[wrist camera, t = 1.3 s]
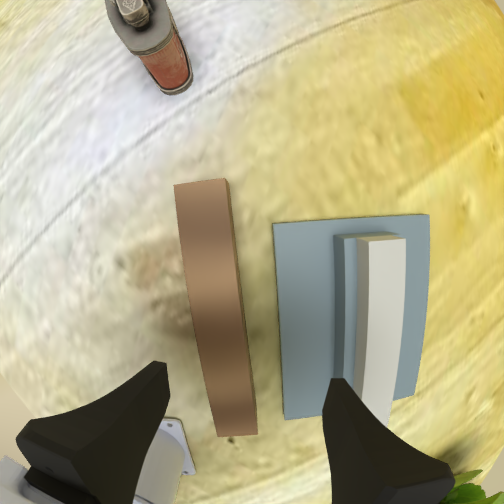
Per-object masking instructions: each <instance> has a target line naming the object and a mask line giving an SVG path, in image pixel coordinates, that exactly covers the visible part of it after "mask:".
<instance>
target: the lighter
mask: <svg viewBox="0 0 504 504" xmlns="http://www.w3.org/2000/svg"><path fill="white" fill-rule="evenodd" d="M105 4H106V9H107V14H108V18H109V20H110V22H111V24H112V26H113V28H114V30H115V32H116V33H117V35H118V36H119V37H120V39H121V40H122V42H123V43H124V44H125V46H126V47H127V48H128V49H129V51H130V52H131V53H133V54H134V55H137V56H139V58H140V59H141V60H142V62H143V64H144V66H145V68H146V70H147V72H148V74H149V75H150V76H151V78H152V79H153V80H154V82H155V83H156V85H157V86H158V87H159V89H160V90H161V91H162V92H163V93H164V94H167V95H177V94H180V93H182V92H184V91H186V90H187V89H188V88H189V87H190V86H191V84H192V82H193V73H192V68H191V63H190V59H189V56H188V53H187V51H186V48H185V45H184V43H183V40H182V39H181V37H180V35H179V34H178V30H177V27H176V24H175V22H174V19H173V17H172V14H171V12H170V9H169V7H168V5H167V2H166V0H105Z"/></svg>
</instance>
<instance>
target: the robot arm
mask: <svg viewBox="0 0 504 504" xmlns="http://www.w3.org/2000/svg"><path fill="white" fill-rule="evenodd" d="M169 399H170V389H169V381H168V373H167V364H166V363H163V362H158V361H153V362H151V363H150V364H149V365H147V366H146V367H145V368H144V369H142V370H141V371H140V372H138V373H137V374H136V375H135V376H133V377H132V378H131V379H129V380H128V381H126V382H125V383H124V384H122V385H121V386H119V387H118V388H116V389H115V390H113V391H112V392H110V393H109V394H107V395H105V396H103V397H102V398H100V399H98V400H96V401H94V402H92V403H90V404H87V405H85V406H82V407H80V408H77V409H75V410H72V411H69V412H66V413H62V414H59V415H55V416H50V417H45V418H38V419H31V420H30V421H29V422H28V423H27V424H26V426H25V427H24V428H23V429H22V431H21V432H20V433H19V434H18V436H17V437H16V443H17V446H18V447H19V449H20V451H21V452H22V454H23V455H24V456H25V458H26V459H27V461H28V462H29V463H30V465H31V467H30V469H29V470H27V469H26V468H25V467H24V466H22V465H21V464H19V463H18V462H16V461H15V460H13V459H12V458H10V457H8V456H7V455H5V456H4V457H3V458H2V460H1V461H0V504H175V499H176V495H177V491H178V486H179V482H180V477H181V475H195V473H196V470H195V467H194V463H193V460H192V457H191V454H190V451H189V448H188V444H187V441H186V438H185V434H184V431H183V427H182V424H181V422H180V421H179V420H177V419H163V417H164V415H165V412H166V409H167V406H168V402H169ZM322 420H323V432H324V437H325V443H326V448H327V453H328V459H329V464H330V471H331V483H332V504H440V503H439V502H440V501H441V500H442V499H443V498H444V497H445V496H446V495H447V494H448V493H449V492H450V491H451V490H452V488H453V487H454V485H455V482H456V481H455V478H454V476H453V473H452V471H451V469H450V467H449V465H448V464H447V463H444V462H442V461H439V460H437V459H435V458H432V457H430V456H428V455H426V454H424V453H422V452H420V451H419V450H417V449H415V448H414V447H412V446H410V445H409V444H407V443H406V442H404V441H403V440H402V439H400V438H399V437H397V436H396V435H395V434H394V433H393V432H391V431H390V430H389V429H388V428H387V427H386V426H384V425H383V424H382V423H381V422H380V421H379V420H378V419H377V418H376V417H375V416H374V414H373V413H372V412H371V411H370V410H369V409H368V408H367V406H366V405H365V404H364V403H363V402H362V400H361V399H360V398H359V397H358V395H357V394H356V393H355V391H354V390H353V389H352V388H351V386H350V385H349V384H348V382H347V381H346V380H345V378H331V380H330V383H329V387H328V391H327V395H326V398H325V402H324V405H323V409H322ZM169 423H171V424H172V425H171V424H169Z"/></svg>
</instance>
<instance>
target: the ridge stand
mask: <svg viewBox="0 0 504 504" xmlns="http://www.w3.org/2000/svg"><path fill="white" fill-rule="evenodd" d="M272 227H273V240H274V254H275V268H276V283H277V298H278V314H279V331H280V349H281V368H282V389H283V412H284V419H285V420H291V419H300V418H307V417H314V416H321V415H322V409H323V405H324V402H325V398H326V395H327V391H328V387H329V383H330V380H331V378H345V380H346V381H347V382H348V384H349V385H350V386H351V388H352V389H353V390H354V391H355V393H356V394H357V395H358V397H359V398H360V399H361V400H362V402H363V403H364V404H365V405H366V406H367V408H368V409H369V410H370V411H371V412H372V413H373V414H374V416H375V417H376V418H377V419H378V420H379V421H380V422H381V423H382V424H383V425H384V426H386V427H387V425H388V421H389V416H390V411H391V406H392V401H394V400H398V399H401V398H405V397H409V396H412V395H414V392H415V387H416V382H417V377H418V371H419V366H420V360H421V353H422V346H423V339H424V331H425V322H426V312H427V301H428V286H429V263H430V221H429V215H426V214H416V215H395V216H376V217H359V218H342V219H327V220H312V221H298V222H285V223H272Z"/></svg>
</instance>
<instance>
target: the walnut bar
mask: <svg viewBox="0 0 504 504" xmlns="http://www.w3.org/2000/svg"><path fill="white" fill-rule="evenodd" d="M174 193H175V202H176V211H177V220H178V228H179V235H180V243H181V250H182V257H183V264H184V271H185V277H186V284H187V290H188V296H189V302H190V308H191V314H192V319H193V325H194V330H195V336H196V341H197V346H198V351H199V356H200V361H201V366H202V371H203V376H204V380H205V385H206V389H207V394H208V398H209V403H210V407H211V411H212V415H213V420H214V424H215V428H216V432H217V436H218V437H228V436H245V435H257V434H258V429H257V408H256V400H255V392H254V385H253V378H252V370H251V363H250V355H249V347H248V340H247V332H246V324H245V316H244V308H243V300H242V292H241V284H240V276H239V267H238V259H237V251H236V242H235V233H234V225H233V216H232V207H231V198H230V189H229V183H228V181H227V180H226V179H225V178H221V179H213V180H205V181H198V182H191V183H184V184H177V185H174Z"/></svg>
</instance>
